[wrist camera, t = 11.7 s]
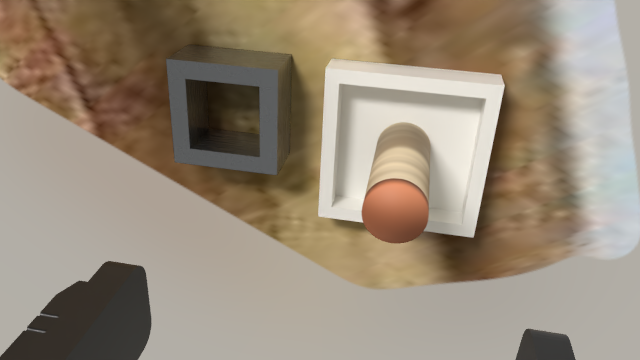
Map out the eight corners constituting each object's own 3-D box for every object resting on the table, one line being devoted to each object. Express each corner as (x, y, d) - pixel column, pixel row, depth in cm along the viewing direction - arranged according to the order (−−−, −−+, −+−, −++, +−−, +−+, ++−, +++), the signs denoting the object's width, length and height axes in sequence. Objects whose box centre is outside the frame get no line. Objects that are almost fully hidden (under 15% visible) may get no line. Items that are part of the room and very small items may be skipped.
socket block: (188, 44, 43) (166, 58, 40) (291, 54, 42) (278, 70, 38) (194, 141, 47) (174, 162, 43) (289, 152, 46) (276, 175, 42)
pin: (379, 119, 42) (364, 181, 33) (434, 125, 42) (433, 191, 33) (374, 167, 44) (358, 238, 35) (426, 173, 44) (423, 247, 35)
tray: (331, 58, 41) (325, 68, 39) (501, 74, 40) (504, 85, 37) (323, 201, 47) (318, 216, 45) (472, 220, 45) (473, 237, 43)
